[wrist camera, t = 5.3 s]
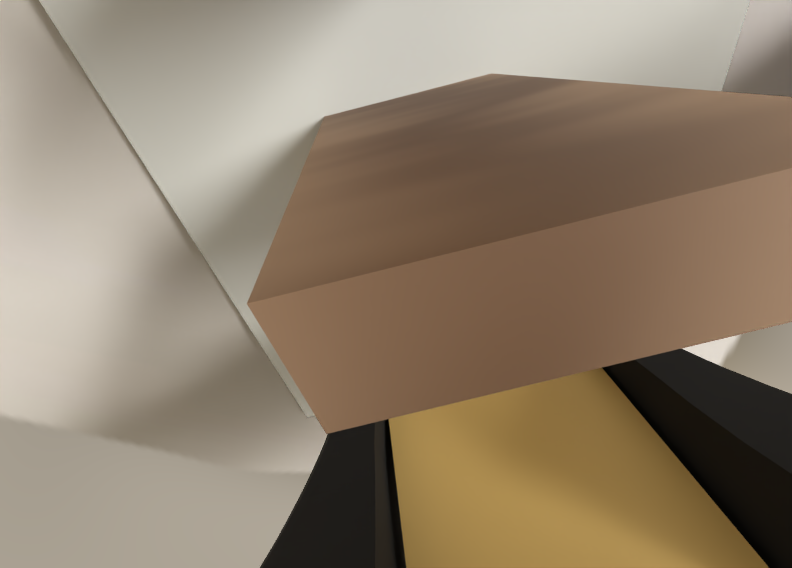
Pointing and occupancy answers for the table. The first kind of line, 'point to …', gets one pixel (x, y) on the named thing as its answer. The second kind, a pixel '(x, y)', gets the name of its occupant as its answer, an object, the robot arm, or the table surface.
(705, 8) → the mat
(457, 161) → the domino
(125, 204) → the table surface
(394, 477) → the robot arm
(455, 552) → the domino
